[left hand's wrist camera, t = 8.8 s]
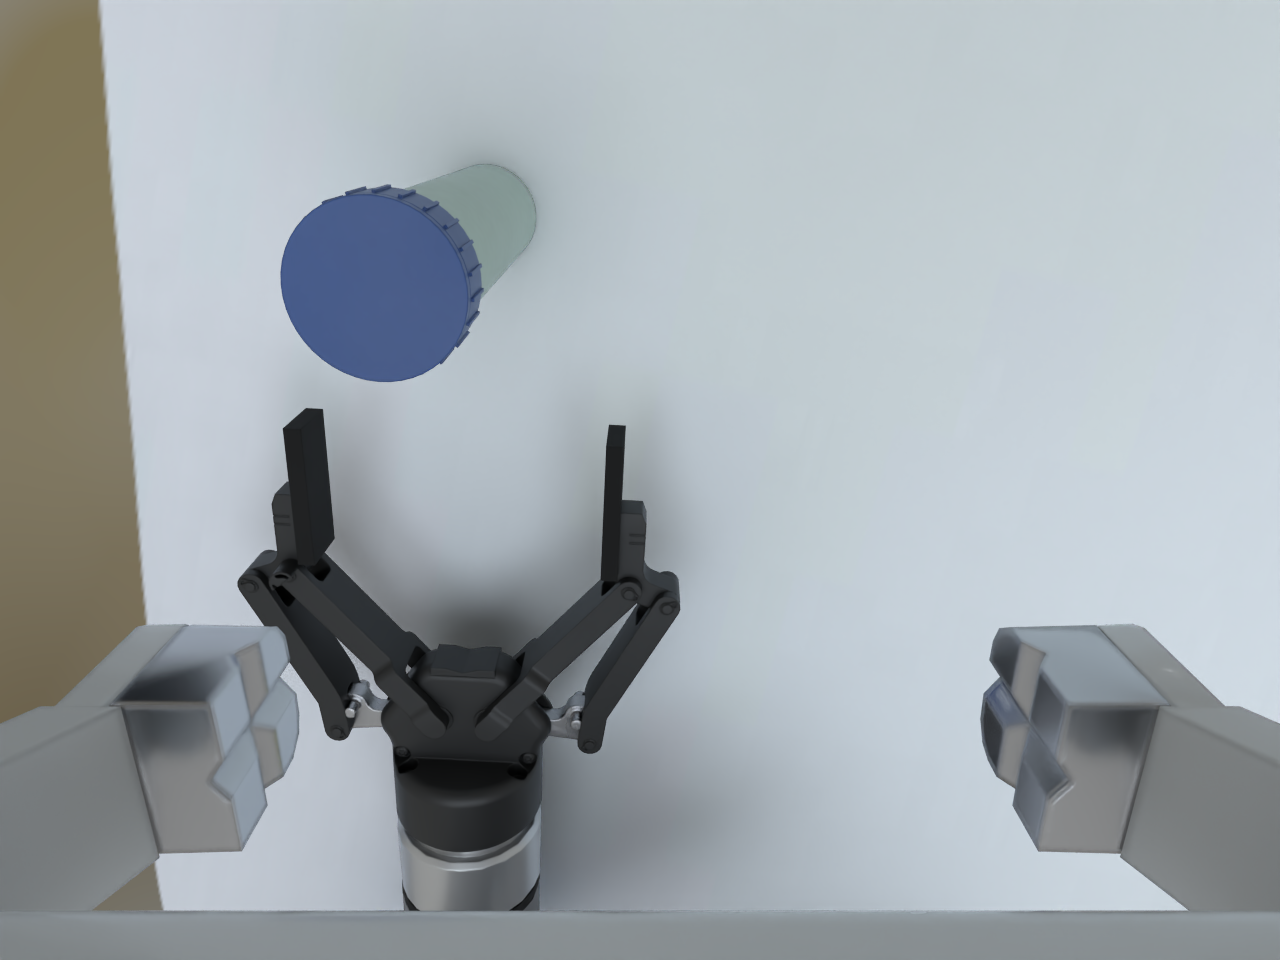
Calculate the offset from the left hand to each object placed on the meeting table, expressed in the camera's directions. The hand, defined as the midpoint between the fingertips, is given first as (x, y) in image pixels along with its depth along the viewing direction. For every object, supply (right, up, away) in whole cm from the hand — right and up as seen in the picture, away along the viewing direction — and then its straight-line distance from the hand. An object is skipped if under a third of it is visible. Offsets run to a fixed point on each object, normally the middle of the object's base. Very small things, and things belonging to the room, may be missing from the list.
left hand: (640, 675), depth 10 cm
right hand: (-8, +5, +28) cm, 29 cm away
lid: (-7, +7, +14) cm, 17 cm away
